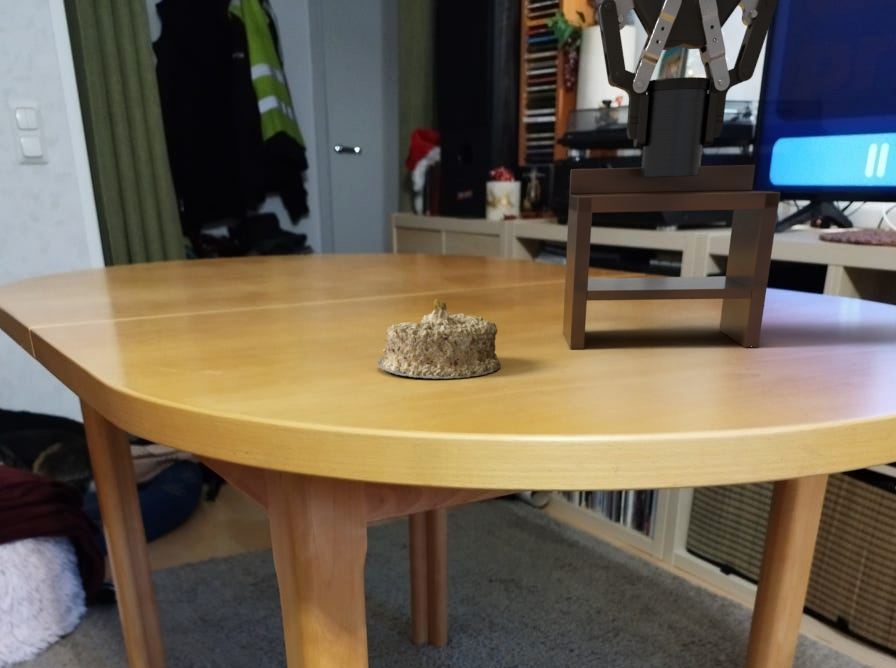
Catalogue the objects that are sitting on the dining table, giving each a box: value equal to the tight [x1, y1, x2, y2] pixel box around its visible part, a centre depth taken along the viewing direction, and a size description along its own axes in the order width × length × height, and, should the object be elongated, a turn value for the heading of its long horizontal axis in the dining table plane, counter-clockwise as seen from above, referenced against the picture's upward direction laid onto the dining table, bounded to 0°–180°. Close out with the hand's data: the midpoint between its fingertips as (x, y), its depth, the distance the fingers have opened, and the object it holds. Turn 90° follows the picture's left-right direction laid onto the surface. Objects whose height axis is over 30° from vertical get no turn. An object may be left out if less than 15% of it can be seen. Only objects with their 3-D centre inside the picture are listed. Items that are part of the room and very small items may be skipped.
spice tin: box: [640, 76, 710, 177], centre depth 76 cm, size 5×5×7 cm
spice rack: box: [562, 164, 781, 350], centre depth 81 cm, size 16×10×14 cm, turn 86°
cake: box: [376, 298, 502, 380], centre depth 73 cm, size 10×10×5 cm
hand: (673, 144), depth 77 cm, fingers closed on spice tin, 5 cm apart
